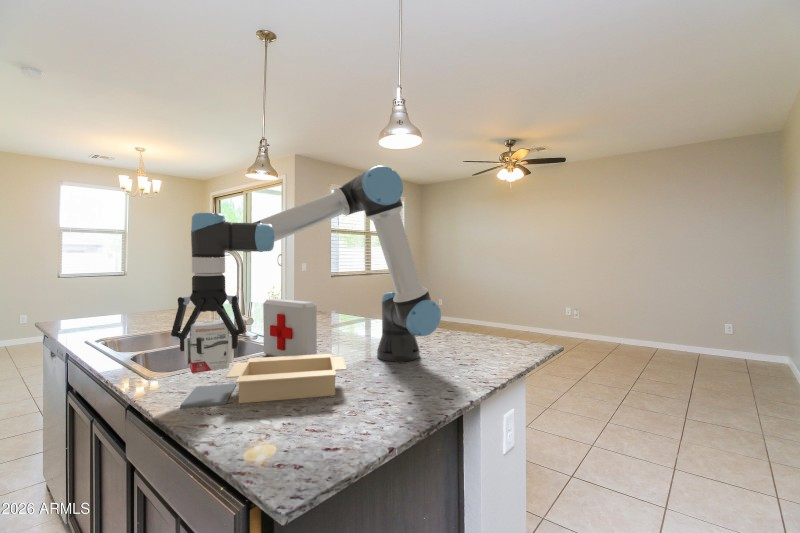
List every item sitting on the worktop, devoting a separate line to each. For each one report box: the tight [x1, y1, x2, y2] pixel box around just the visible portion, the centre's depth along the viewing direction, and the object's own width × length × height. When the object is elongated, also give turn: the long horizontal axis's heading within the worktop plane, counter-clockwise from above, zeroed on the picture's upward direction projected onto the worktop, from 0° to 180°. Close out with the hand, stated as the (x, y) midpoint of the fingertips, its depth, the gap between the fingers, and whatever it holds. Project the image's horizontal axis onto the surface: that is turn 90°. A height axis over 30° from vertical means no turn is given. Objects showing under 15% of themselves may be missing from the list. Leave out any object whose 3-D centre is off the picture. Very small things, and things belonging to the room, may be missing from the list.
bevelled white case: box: [262, 298, 318, 357], centre depth 131 cm, size 21×8×20 cm, turn 58°
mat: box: [179, 383, 237, 409], centre depth 96 cm, size 10×13×1 cm
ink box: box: [189, 319, 230, 374], centre depth 96 cm, size 8×5×12 cm, turn 123°
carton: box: [225, 353, 347, 404], centre depth 101 cm, size 29×20×6 cm
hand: (209, 362), depth 96 cm, fingers closed on ink box, 9 cm apart
